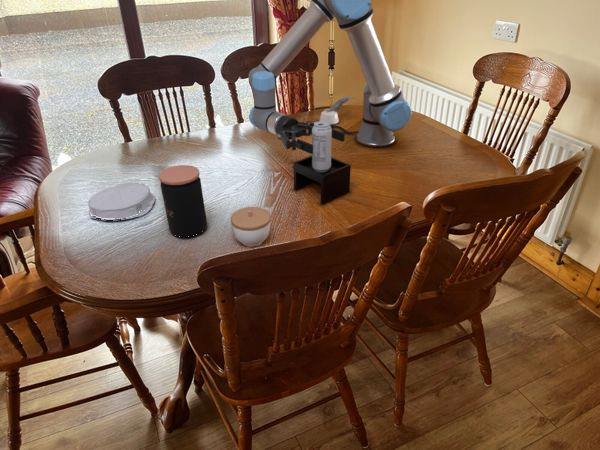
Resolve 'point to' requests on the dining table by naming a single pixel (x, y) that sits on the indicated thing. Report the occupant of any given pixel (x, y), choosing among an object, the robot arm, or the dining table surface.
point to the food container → (121, 201)
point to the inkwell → (333, 111)
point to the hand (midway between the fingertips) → (328, 143)
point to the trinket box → (251, 225)
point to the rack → (323, 178)
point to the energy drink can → (321, 146)
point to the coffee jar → (183, 201)
